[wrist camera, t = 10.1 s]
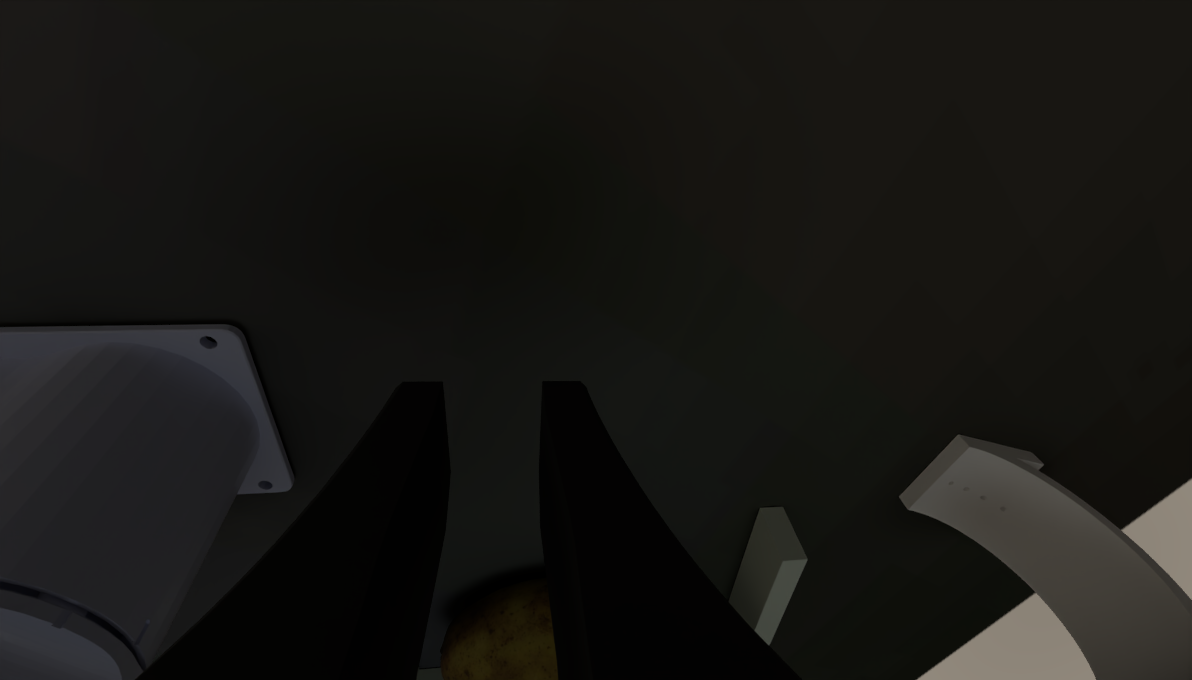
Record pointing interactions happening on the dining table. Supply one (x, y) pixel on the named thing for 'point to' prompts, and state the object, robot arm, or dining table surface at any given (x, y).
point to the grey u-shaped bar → (753, 576)
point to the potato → (503, 637)
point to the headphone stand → (1063, 557)
